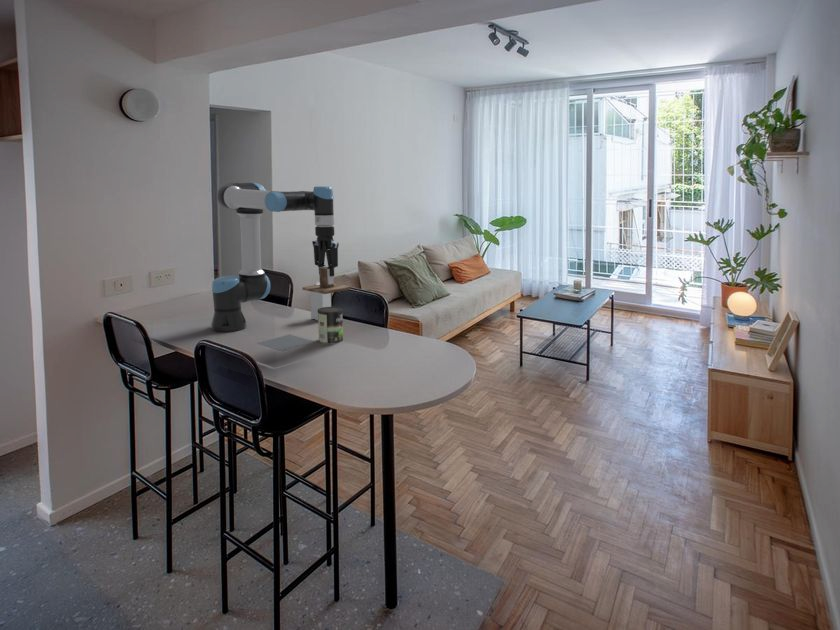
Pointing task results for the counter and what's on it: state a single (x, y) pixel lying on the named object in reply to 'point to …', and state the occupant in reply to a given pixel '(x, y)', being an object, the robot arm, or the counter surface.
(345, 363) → the counter surface
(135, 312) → the counter surface
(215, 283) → the robot arm
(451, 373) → the counter surface
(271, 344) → the mat
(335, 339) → the coffee can
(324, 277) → the wooden peg stand
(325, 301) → the milk carton
